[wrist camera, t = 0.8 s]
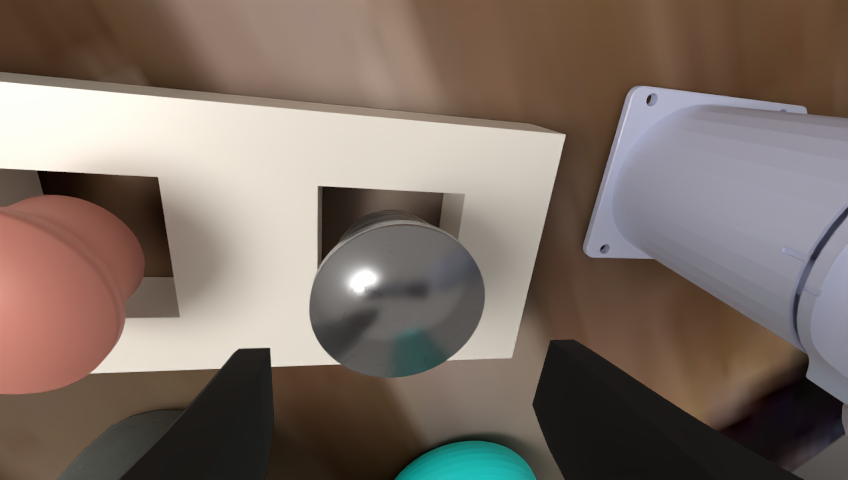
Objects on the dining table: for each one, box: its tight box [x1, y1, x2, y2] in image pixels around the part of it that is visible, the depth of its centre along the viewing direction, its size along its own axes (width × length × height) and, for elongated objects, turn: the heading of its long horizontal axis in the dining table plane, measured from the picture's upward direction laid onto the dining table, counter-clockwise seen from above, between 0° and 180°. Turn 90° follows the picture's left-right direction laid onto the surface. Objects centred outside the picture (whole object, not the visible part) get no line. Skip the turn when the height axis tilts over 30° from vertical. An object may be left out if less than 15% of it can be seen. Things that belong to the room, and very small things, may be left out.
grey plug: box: [309, 210, 485, 377], centre depth 13 cm, size 5×5×3 cm
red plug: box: [0, 195, 145, 394], centre depth 11 cm, size 5×5×3 cm
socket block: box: [0, 72, 566, 373], centre depth 15 cm, size 22×10×3 cm, turn 83°
